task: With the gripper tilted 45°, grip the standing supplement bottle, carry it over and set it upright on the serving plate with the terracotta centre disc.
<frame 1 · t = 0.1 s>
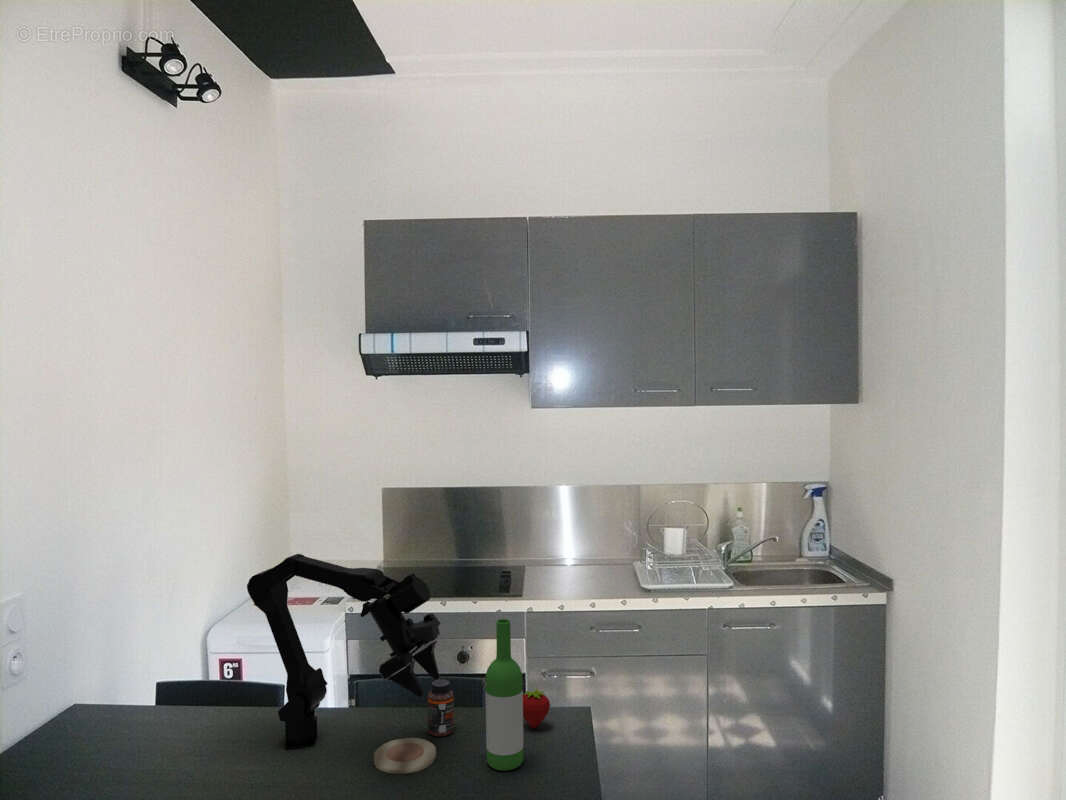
hand: (429, 687, 157), 15 cm above the table, tool tilted 35°, fingers open, 9 cm apart
wine bottle: (505, 764, 154), on the table
strawberry: (534, 728, 170), on the table
serving plate: (405, 757, 157), on the table
supplement bottle: (441, 732, 169), on the table
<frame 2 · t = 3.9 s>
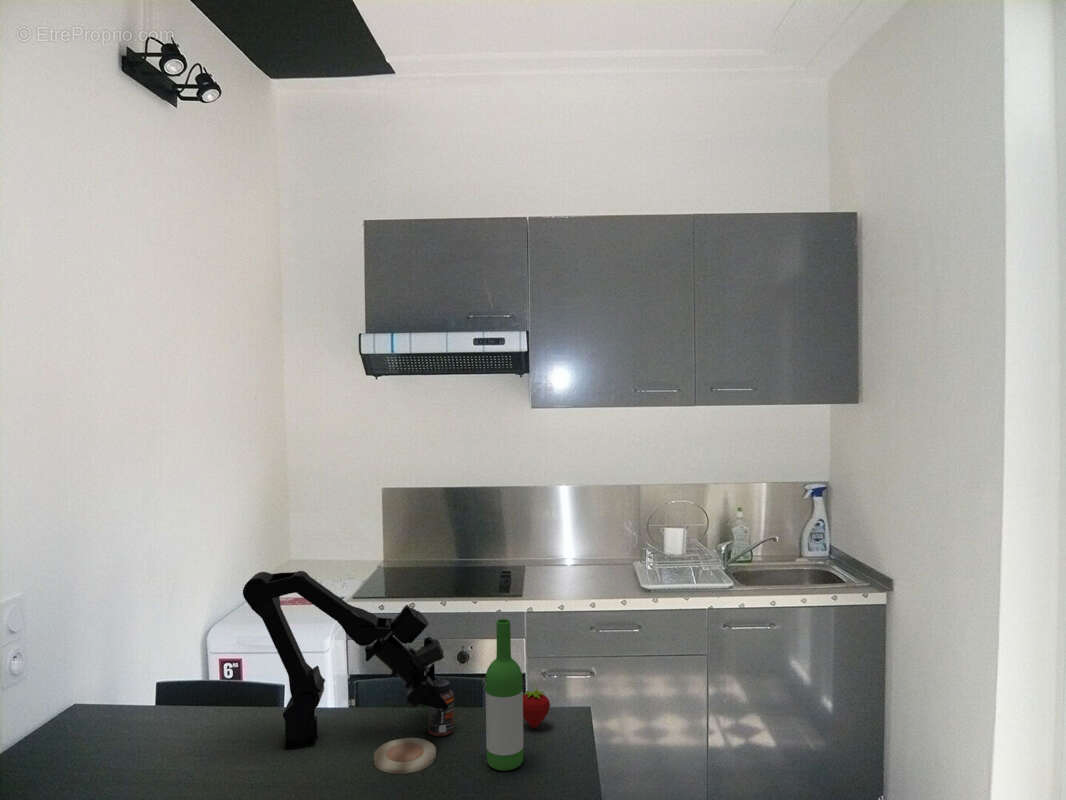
hand: (446, 702, 169), 7 cm above the table, tool tilted 45°, fingers closed on supplement bottle, 6 cm apart
supplement bottle: (441, 732, 169), on the table, touching gripper
everything else where it was.
when the fingers open (9 cm above the table, at t = 8.4 s): supplement bottle stays where it is, resting on serving plate.
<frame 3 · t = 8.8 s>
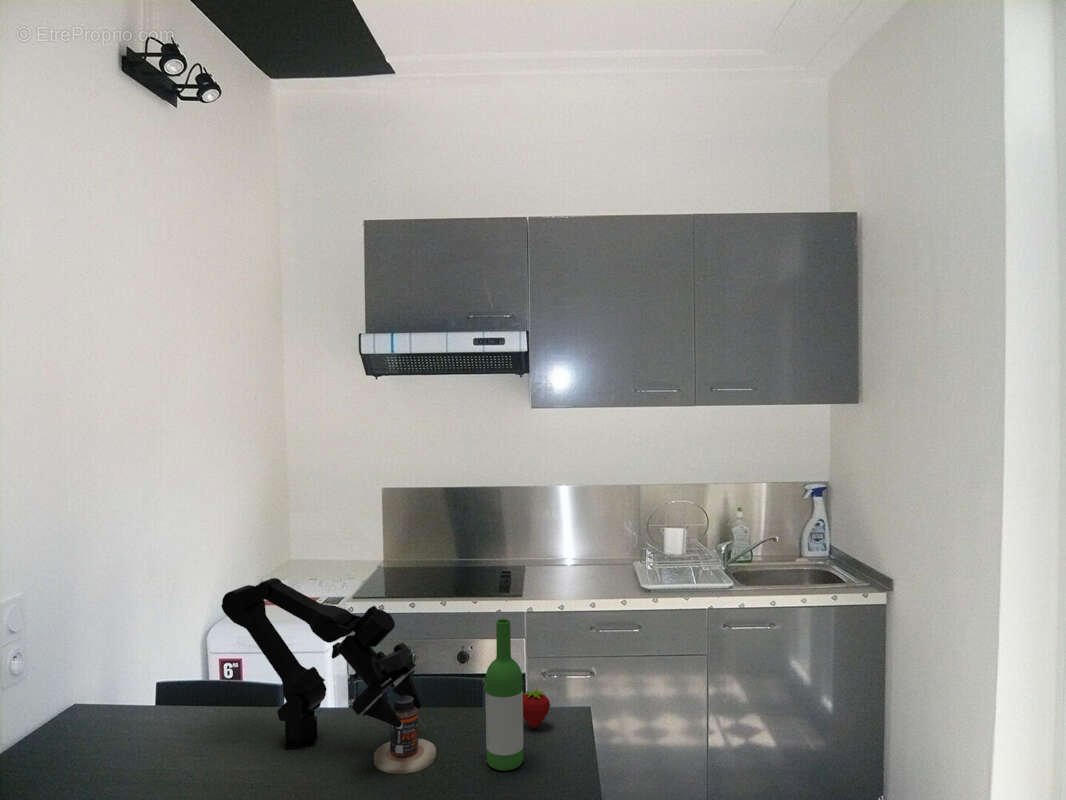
hand: (410, 716, 156), 9 cm above the table, tool tilted 45°, fingers open, 9 cm apart
supplement bottle: (404, 752, 157), point 1 cm above the table, touching serving plate
everything else where it was.
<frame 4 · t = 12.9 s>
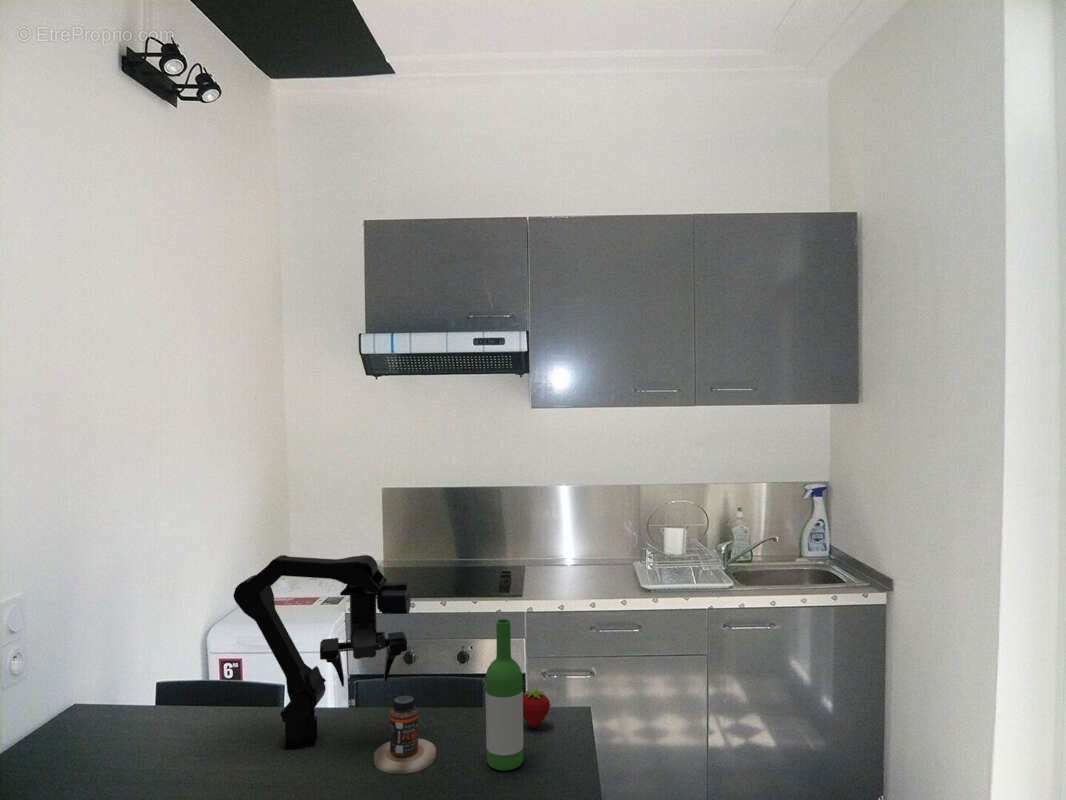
hand: (364, 683, 164), 13 cm above the table, tool pointing down, fingers open, 9 cm apart
nothing on the table moved.
at the end: supplement bottle inside the target area on the serving plate (0.2 cm from its centre), point 1.1 cm above the serving plate's base; supplement bottle tilted 0°; the gripper is holding nothing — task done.
